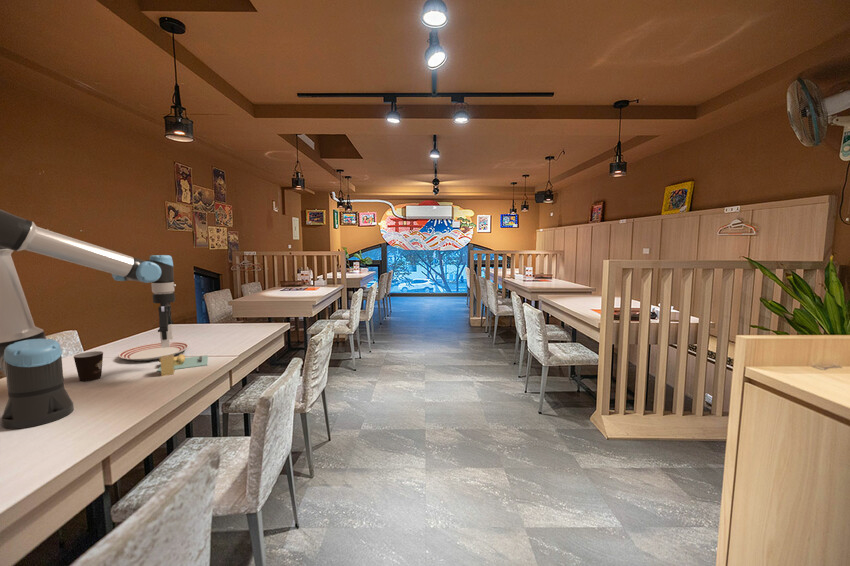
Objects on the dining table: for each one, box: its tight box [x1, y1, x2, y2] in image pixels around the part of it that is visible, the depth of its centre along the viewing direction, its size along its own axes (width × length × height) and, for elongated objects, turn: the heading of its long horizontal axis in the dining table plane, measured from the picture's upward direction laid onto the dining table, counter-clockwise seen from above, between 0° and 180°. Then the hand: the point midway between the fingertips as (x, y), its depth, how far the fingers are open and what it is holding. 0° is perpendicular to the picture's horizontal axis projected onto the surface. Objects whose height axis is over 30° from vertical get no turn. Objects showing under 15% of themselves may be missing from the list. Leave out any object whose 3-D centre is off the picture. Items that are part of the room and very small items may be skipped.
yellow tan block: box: [158, 355, 176, 377], centre depth 151 cm, size 6×5×7 cm
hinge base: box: [157, 353, 209, 373], centre depth 164 cm, size 16×18×4 cm
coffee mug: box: [73, 350, 104, 383], centre depth 145 cm, size 12×9×10 cm
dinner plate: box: [118, 341, 190, 362], centre depth 176 cm, size 27×27×3 cm
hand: (167, 343), depth 150 cm, fingers open, 13 cm apart
